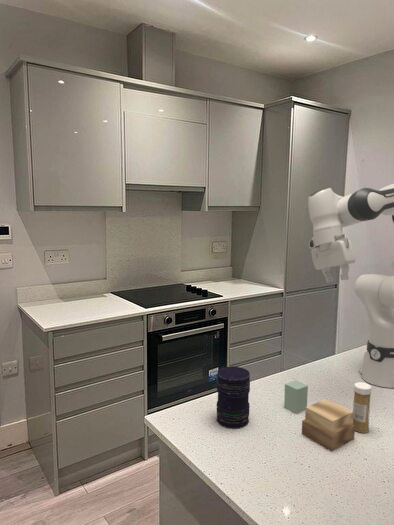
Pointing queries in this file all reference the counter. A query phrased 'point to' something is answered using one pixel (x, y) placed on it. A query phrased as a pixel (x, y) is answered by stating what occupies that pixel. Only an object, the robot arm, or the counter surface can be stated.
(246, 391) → the storage jar
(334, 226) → the robot arm
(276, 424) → the counter surface
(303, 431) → the walnut block
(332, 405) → the oak block
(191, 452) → the counter surface
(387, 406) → the counter surface
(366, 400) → the sprinkles bottle
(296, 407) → the sage block
